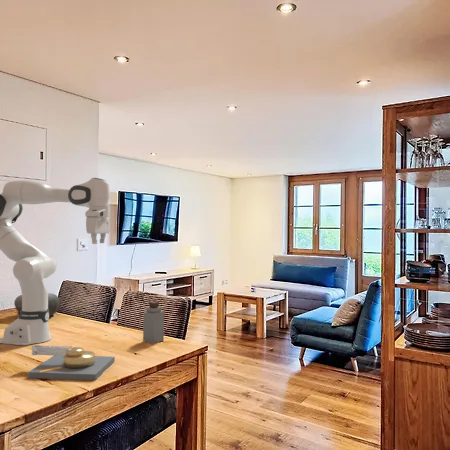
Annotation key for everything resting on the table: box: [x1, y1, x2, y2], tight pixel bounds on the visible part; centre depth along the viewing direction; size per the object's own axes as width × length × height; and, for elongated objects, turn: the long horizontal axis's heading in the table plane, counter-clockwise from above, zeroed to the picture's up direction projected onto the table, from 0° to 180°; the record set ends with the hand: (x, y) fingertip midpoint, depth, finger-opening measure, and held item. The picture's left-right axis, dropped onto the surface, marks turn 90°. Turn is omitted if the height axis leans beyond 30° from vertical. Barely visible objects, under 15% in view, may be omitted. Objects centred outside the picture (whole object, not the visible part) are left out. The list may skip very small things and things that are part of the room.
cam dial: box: [31, 344, 96, 368], centre depth 152 cm, size 24×11×6 cm, turn 87°
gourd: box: [13, 292, 61, 317], centre depth 242 cm, size 25×25×17 cm
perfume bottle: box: [142, 301, 165, 344], centre depth 193 cm, size 7×7×18 cm
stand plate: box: [27, 355, 115, 381], centre depth 152 cm, size 24×20×2 cm
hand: (98, 243), depth 187 cm, fingers open, 8 cm apart
